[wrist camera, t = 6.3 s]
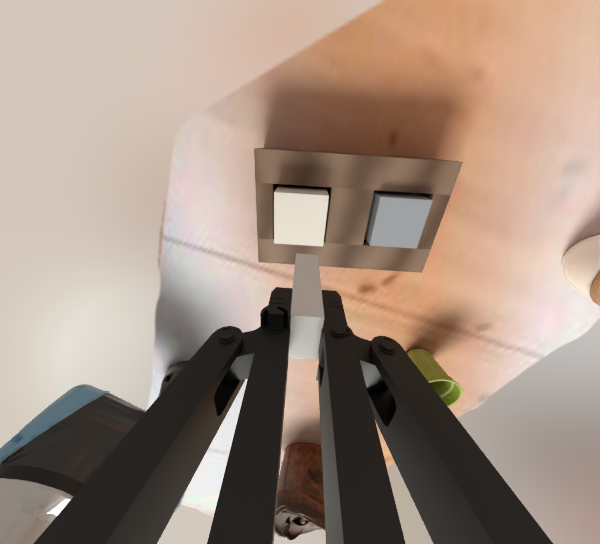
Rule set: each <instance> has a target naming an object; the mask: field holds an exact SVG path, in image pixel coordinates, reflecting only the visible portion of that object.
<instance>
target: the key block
mask: <svg viewBox="0 0 600 544" xmlns="http://www.w3.org/2000/svg"><path fill="white" fill-rule="evenodd" d="M254 154H255V180H256V206H257V232H258V259H259V262H265V263H281V264H295V260H296V253H299V254H313V255H318V262H319V266H328V267H344V268H359V269H375V270H391V271H406V272H422V271H423V268H424V265H425V263H426V260H427V257H428V255H429V252H430V249H431V247H432V244H433V241H434V239H435V236H436V233H437V230H438V228H439V225H440V222H441V220H442V217H443V214H444V212H445V209H446V206H447V203H448V201H449V198H450V195H451V193H452V190H453V187H454V185H455V182H456V179H457V176H458V174H459V171H460V168H461V166H462V163H463V162H457V161H448V160H439V159H426V158H410V157H395V156H379V155H364V154H348V153H333V152H317V151H302V150H286V149H271V148H256V149H254ZM274 184H287V185H302V186H318V187H331V192H330V201H329V209H328V218H327V226H326V235H325V240H324V243H323V247H322V246H307V245H291V244H275V243H274ZM374 190H380V191H395V192H411V193H418V194H420V195H422V196H424V197H427V198H429V199H431V200H433V201H432V204H431V207H430V210H429V213H428V216H427V219H426V222H425V225H424V228H423V231H422V234H421V237H420V240H419V243H418V246H417V249H415V248H399V247H384V246H370V245H369V244H368V243H363V242H364V237H365V233H366V228H367V223H368V218H369V213H370V209H371V204H372V199H373V194H374Z"/></svg>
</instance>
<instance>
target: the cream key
mask: <svg viewBox="0 0 600 544" xmlns="http://www.w3.org/2000/svg"><path fill="white" fill-rule="evenodd" d="M328 200H329V195H328V192H327V190H326V189H312V188H296V187H281V186H278V187H277V189H276V190H275V192H274V243H275V244H291V245H307V246H322V247H323V243H324V234H325V226H326V217H327V208H328Z"/></svg>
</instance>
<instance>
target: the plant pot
mask: <svg viewBox="0 0 600 544" xmlns="http://www.w3.org/2000/svg"><path fill="white" fill-rule="evenodd" d="M407 354H408V356H409V357H410V358H411V360H412V361H413V362H414V364H415V365H416V366H417V367H418V369H419V370H420V371H421V373H422V374H423V375H424V377H425V378H426V379H427V380H428V382H429V383H430V384H431V386H432V387H433V388H434V390H435V391H436V392H437V394H438V395H439V396H440V397H441V399H442V400H443V401H444V403H445V404H446V405H447V407H450V406H452V405H454V404H455V403H456V402H457V401H458V400H459V399H460V398H461V396H462V393H463V391H462V387H461V386H460V385H459V384H458V383H457V382H456V381H454V380H453V379H452V378H451V377H450V376H448V375H447V374H446V372H445V371H444V370H443V369H442V368H441V366H440V365H439V364H438V363H437V362H436V360H435V359H434V358H433V357H432V355H431V354H430V353H429V352H427V351H426V350H424V349H413V350H410V351H409V352H408V353H407Z"/></svg>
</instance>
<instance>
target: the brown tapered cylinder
mask: <svg viewBox="0 0 600 544" xmlns="http://www.w3.org/2000/svg"><path fill="white" fill-rule="evenodd" d="M318 529H324V530H326V529H325V508H324V487H323V467H322V448H321V447H320V446H318V445H315V444H310V443H299V444H294V445H291V446H289V447H288V448H287V449H286V450H285V454H284V459H283V463H282V467H281V471H280V475H279V481H278V493H277V506H276V518H275V530H274V532H275V533H276V534H277V535H278V536H281V537H287V539H289V540H293V539H295V538H296V537H297V536H298V535H300V534H303V533H308V532H311V531H314V530H318Z"/></svg>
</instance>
